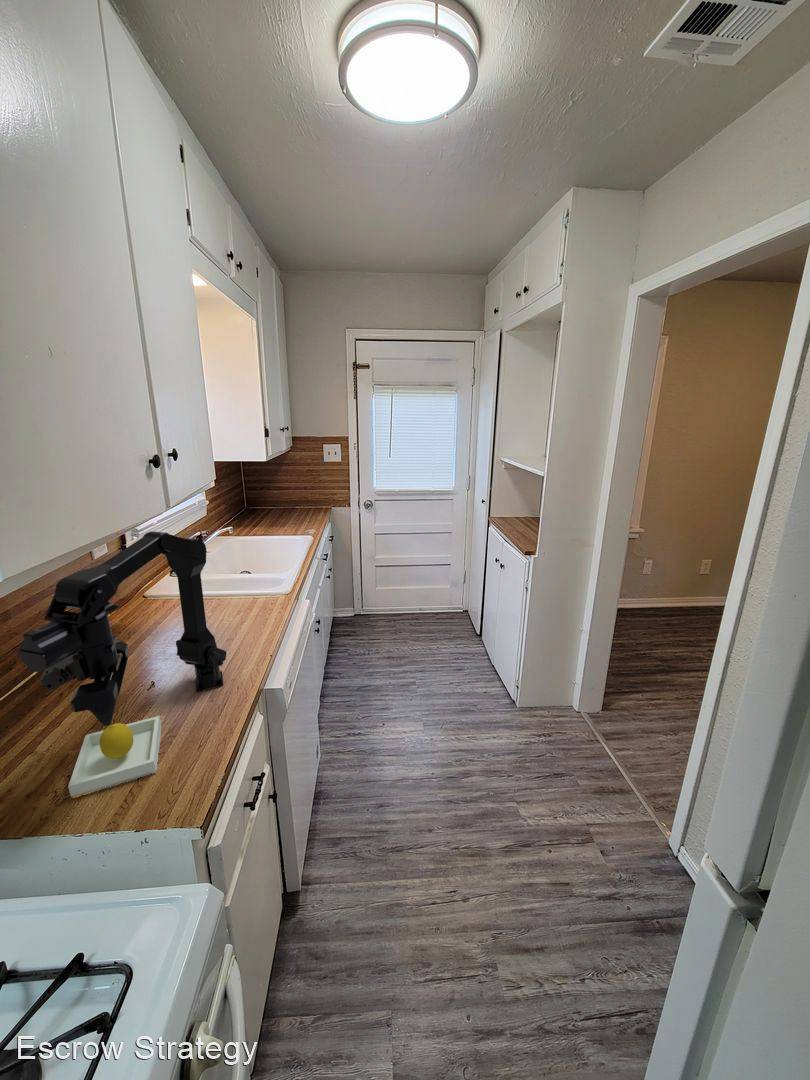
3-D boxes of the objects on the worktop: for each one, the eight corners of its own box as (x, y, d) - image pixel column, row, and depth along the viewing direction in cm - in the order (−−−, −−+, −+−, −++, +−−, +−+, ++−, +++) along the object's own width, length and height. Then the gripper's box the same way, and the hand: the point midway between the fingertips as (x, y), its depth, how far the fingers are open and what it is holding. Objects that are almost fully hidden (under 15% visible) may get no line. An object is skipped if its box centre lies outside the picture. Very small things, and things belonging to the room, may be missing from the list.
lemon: (102, 756, 86) (92, 725, 83) (133, 741, 90) (124, 711, 87) (108, 772, 82) (98, 740, 80) (140, 756, 86) (131, 725, 83)
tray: (88, 746, 89) (85, 735, 88) (161, 726, 95) (159, 715, 94) (71, 799, 77) (68, 786, 76) (156, 773, 83) (153, 761, 82)
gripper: (55, 627, 83) (74, 693, 88) (21, 679, 67) (46, 757, 72) (121, 615, 88) (136, 679, 92) (104, 662, 71) (123, 737, 76)
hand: (112, 710), depth 83 cm, fingers open, 9 cm apart
